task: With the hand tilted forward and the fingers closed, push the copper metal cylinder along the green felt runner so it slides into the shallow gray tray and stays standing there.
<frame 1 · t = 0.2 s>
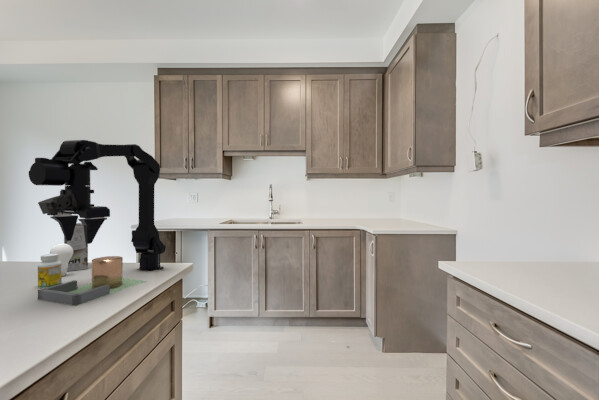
hand: (78, 242, 84), 14 cm above the countertop, tool pointing down, fingers open, 9 cm apart
lightbulb: (61, 277, 100), on the countertop
supplement bottle: (49, 288, 89), on the countertop
green: (97, 291, 86), on the countertop
shallow gray tray: (77, 295, 80), resting on green
coffee box: (76, 268, 111), on the countertop
copper metal cylinder: (107, 285, 89), point 1 cm above the countertop, touching green
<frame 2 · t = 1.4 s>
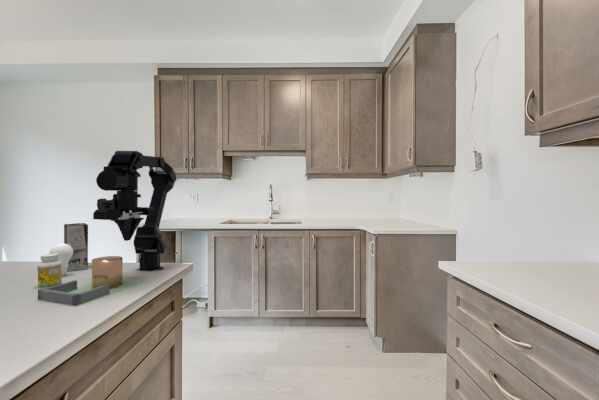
hand: (127, 240, 95), 13 cm above the countertop, tool pointing down, fingers closed
nothing on the countertop moved.
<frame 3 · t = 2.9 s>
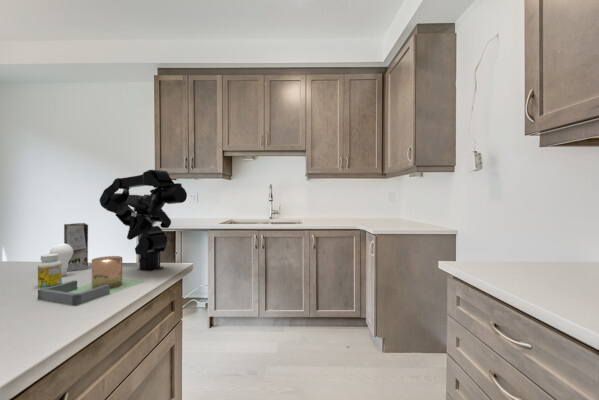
hand: (128, 238, 96), 13 cm above the countertop, tool tilted 45°, fingers closed
nothing on the countertop moved.
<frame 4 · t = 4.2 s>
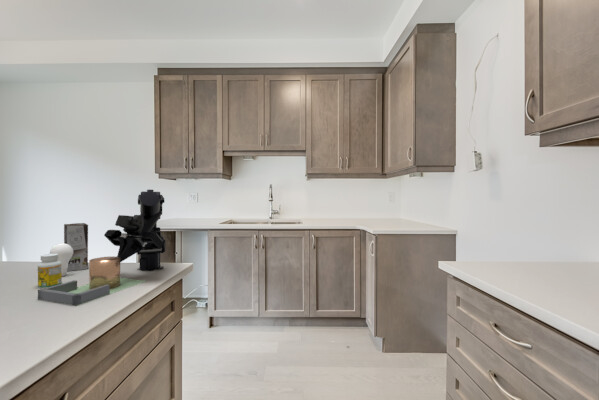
hand: (118, 261, 92), 7 cm above the countertop, tool tilted 45°, fingers closed
nothing on the countertop moved.
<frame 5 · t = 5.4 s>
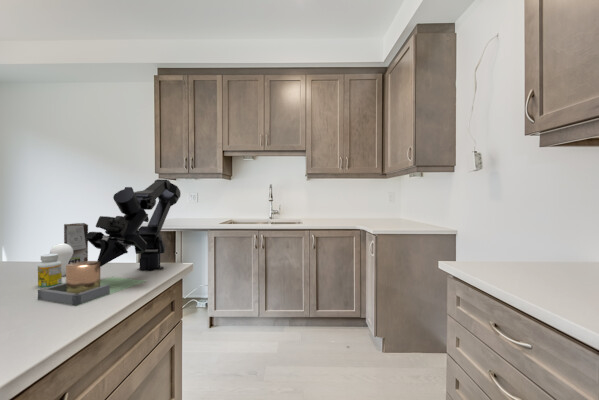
hand: (98, 265, 86), 7 cm above the countertop, tool tilted 45°, fingers closed
copper metal cylinder: (83, 293, 82), point 1 cm above the countertop, touching green, gripper
everything else where it was.
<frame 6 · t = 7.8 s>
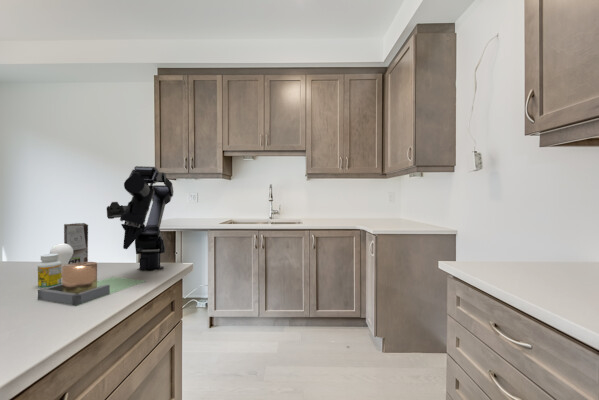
hand: (125, 248, 95), 10 cm above the countertop, tool tilted 20°, fingers closed
copper metal cylinder: (80, 294, 81), point 1 cm above the countertop, touching green
everything else where it was.
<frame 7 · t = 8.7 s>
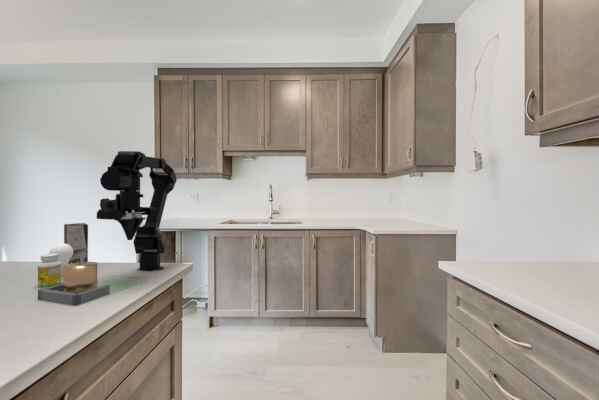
hand: (129, 239, 96), 13 cm above the countertop, tool pointing down, fingers closed
nothing on the countertop moved.
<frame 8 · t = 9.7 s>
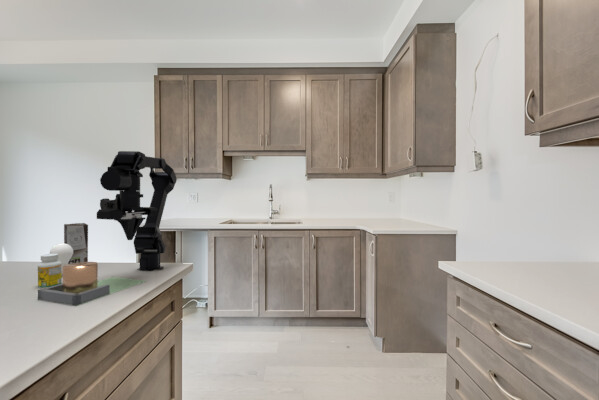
hand: (129, 239, 96), 13 cm above the countertop, tool pointing down, fingers closed
nothing on the countertop moved.
at the end: copper metal cylinder inside the target area on the shallow gray tray (0.5 cm from its centre), point 0.0 cm above the shallow gray tray's base; copper metal cylinder tilted 0°; copper metal cylinder moved 8.0 cm from its start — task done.
